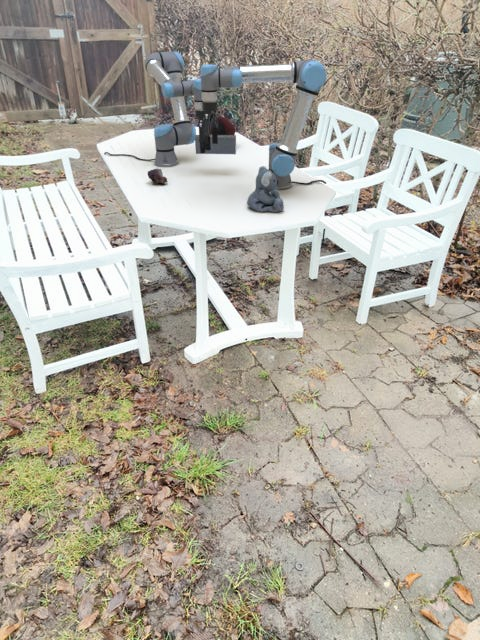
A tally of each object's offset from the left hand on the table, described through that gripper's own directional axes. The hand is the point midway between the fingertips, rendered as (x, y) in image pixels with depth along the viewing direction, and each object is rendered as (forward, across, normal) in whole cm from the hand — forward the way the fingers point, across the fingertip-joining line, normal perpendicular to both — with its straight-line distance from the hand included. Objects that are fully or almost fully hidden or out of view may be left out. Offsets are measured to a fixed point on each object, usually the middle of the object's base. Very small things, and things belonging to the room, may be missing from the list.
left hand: (203, 151), depth 268 cm
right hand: (-12, -38, -10) cm, 41 cm away
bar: (0, 0, -8) cm, 8 cm away
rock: (+13, -20, +25) cm, 34 cm away
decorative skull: (+14, +66, -3) cm, 68 cm away
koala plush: (+12, -57, -38) cm, 69 cm away
